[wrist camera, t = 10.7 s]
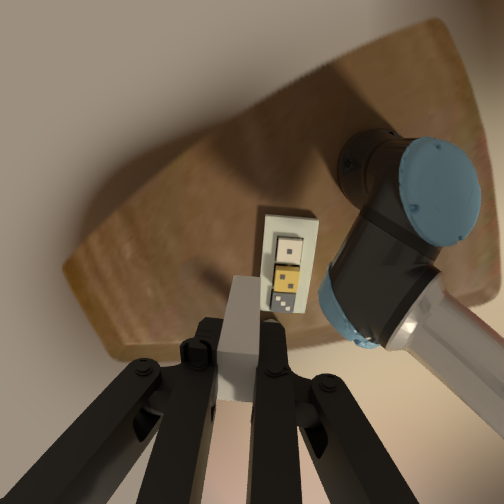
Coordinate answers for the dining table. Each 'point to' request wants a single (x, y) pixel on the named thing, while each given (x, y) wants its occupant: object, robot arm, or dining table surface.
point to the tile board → (290, 228)
